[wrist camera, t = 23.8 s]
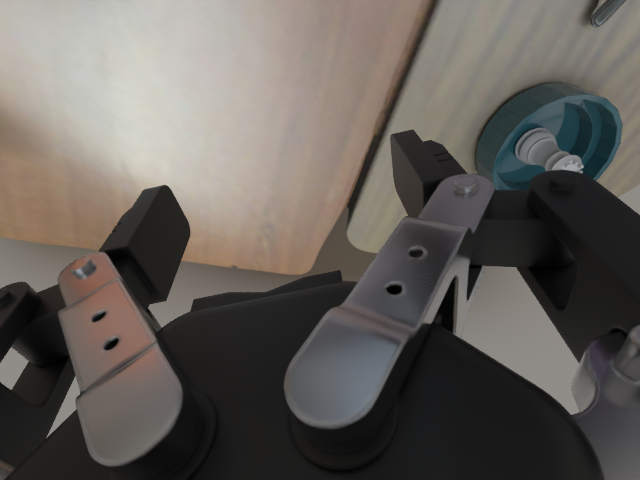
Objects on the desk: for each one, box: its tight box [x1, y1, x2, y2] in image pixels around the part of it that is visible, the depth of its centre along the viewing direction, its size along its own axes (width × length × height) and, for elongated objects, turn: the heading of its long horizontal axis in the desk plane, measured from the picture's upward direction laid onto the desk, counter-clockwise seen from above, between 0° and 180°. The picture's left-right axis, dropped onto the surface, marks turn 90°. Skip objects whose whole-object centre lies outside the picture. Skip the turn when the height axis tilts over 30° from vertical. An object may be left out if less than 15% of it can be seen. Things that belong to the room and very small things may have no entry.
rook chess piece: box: [515, 128, 584, 173], centre depth 41 cm, size 4×4×8 cm
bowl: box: [476, 82, 622, 190], centre depth 43 cm, size 14×14×6 cm
